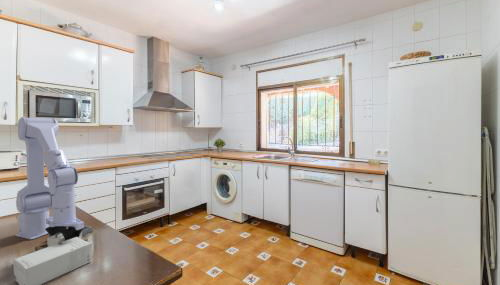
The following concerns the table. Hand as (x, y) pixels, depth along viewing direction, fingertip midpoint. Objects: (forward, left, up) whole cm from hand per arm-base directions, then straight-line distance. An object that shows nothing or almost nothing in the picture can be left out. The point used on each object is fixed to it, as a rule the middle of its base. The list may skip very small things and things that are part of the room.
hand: (65, 248), depth 74 cm
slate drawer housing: (-11, +9, -1) cm, 14 cm away
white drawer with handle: (0, 0, -1) cm, 1 cm away
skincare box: (+9, 0, +2) cm, 9 cm away
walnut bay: (-1, 0, -1) cm, 2 cm away
